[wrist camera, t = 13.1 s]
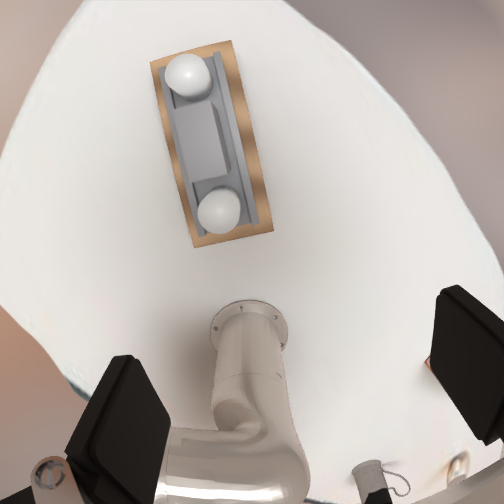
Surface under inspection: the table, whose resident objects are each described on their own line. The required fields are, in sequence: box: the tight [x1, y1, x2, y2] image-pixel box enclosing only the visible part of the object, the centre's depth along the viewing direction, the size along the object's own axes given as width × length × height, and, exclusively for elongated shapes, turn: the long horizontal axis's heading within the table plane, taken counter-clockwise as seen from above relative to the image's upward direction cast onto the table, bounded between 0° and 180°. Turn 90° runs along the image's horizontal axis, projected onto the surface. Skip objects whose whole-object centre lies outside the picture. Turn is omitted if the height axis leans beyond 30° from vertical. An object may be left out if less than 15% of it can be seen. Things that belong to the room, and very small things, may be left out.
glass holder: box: [352, 460, 411, 504], centre depth 60 cm, size 9×14×15 cm, turn 103°
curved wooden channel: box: [150, 40, 274, 248], centre depth 37 cm, size 24×10×7 cm, turn 12°
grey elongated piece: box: [158, 51, 260, 237], centre depth 30 cm, size 20×7×8 cm, turn 12°
